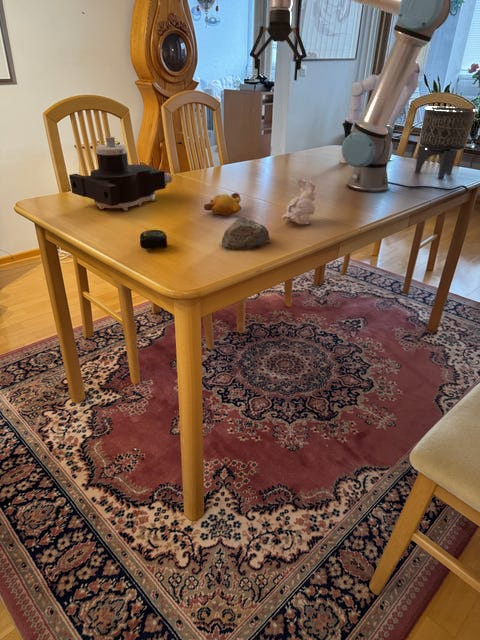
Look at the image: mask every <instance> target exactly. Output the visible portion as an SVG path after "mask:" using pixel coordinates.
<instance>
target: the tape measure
mask: <svg viewBox="0 0 480 640" xmlns="http://www.w3.org/2000/svg"><path fill="white" fill-rule="evenodd" d="M167 236H168V235H167V234H166V232H165V231H164V230H161V229H147V230H144V231H143V232H141V233H140V235H139V240H140V241H139V245H140V246H139V247H141V248H142V249H146V250H157V249H167V248H168V240H167V239H168V237H167Z"/></svg>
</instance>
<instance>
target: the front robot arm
mask: <svg viewBox="0 0 480 640" xmlns="http://www.w3.org/2000/svg"><path fill="white" fill-rule="evenodd" d="M350 1H351V2H355V3H358V4H361V5H364V6H366V7H370V8H372V9H376V10H380V11H382V12H386V13H388V14H392V15H395V16H398V18H397V20H396V22H395V25H394V27H393V29H392V31H393V34H394V40H393V42H392V45H391V47H390V50H389V52H388V55H387V57H386V60H385V62H384V64H383V67H382V69H381V72H380V73H379V74H380V76H379V79H378V81H377V83H376V86H375V88H374V89H372V90H373V91H372V93H371V96H370V98H369V100H368V102H367V105H366V108H365V110H364V113H363V114H362V116H361V117H360V119H358V120H356V122H355V124H353V126H352V128H351V132H350V135H348V136H347V138H345V139H344V140H343V142H342V145H341V156H342V155H343V158H344V160H345V161H346V162H347V163H346V164H347V165H349V166H351V167H353V171H351V174H350V176H349V179H348V180H347V181H348V182H347V187H348V188H349V189H351V190H354V191H358V192H363V193H364V192H365V193H382V192H386V191H388V189H389V185H393V186H397V187H402V188H405V189H434V190H441V191H454V190H457V189H461V188H463V189H465V191H467V190H469V188H468V186H466V185H458V186H455V187H440V186H439V187H438V186H432V185H406V184H405V185H404V184H401V183H397V182H393V181H389V178H388V173H387V172H388V171H387V166H388V161H389V160H388V156H389V151H390V145H391V142H392V140H393V136H394V134H393V133H394V129H393V128H392V127H391V126H388V125H387V123H388V121H389V118H390V116H391V114H392V112H393V110H394V107H395V105H396V103H397V101H398V99H399V96H400V94H401V92H402V90H403V88H404V85H405V83H406V81H407V79H408V77H409V74H410V72H411V70H412V68H413V66H414V63H415V62H417V59H418V57H419V54H420V52H421V50H422V49H423V47H425V46H427V45H429V44H430V42H431V41H432V38H433V36H434V34H435V32H436V30H438V29H439V28H441V27H442V26H443V25H444V24H445V23H446V21H447V20H448V18H449V17H450V13H451V9H452V0H350ZM269 8H270V10H269V13H268V26H264V25H261V26H259V32H258V35H257V38H256V40H255V42H254V43H253V46H252V48H251V51H250V53H249V56H250V57H251V58H253V59H254V70H257V75H256V76H257V77H256V80H257V81H259V80H260V73H261V71H260V70H261V65H260V64H261V58H259V57H260V56H261V54H262V53H263V52H264V51H265V49H266V48H267V47H268V46H269V45H270V43H272V42H276V43H277V42H281V43H283V42H285V41H286V43H287V45H288V46H289V47H290V49H291V51H292V52H293V54H294V56H295V57H296V58H297V59H295V62H294V63H295V64H294V75H293V80H294V81H296V82H297V80H298V71H300V70H301V68H302V60H303V59H305V58H307V57H308V54H307V51H306V49H305V46H304V43H303V40H302V37H301V34H300V33H301V32H300V27H299V26H296V27H292V25H291V24H292V11H291V9H292V8H293V0H269ZM266 33H268V35H269V37H268V38H267V40H265V42H264V44H263V45H262V46H261V47H260V48H259V50H258V51H257V52H256V50H257V49H258V46H259V43H260V42H261V38H262V37H263V35H265V34H266ZM291 33H293V35H295V38H296V42H297V44H298V48H299V50H300V52H301V54H300V52H299V50H298V49H297V48H296V46H295V44H294V43H293V41H292V40H291V38H290V35H291ZM255 52H256V53H255Z"/></svg>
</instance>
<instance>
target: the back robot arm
mask: <svg viewBox="0 0 480 640" xmlns="http://www.w3.org/2000/svg"><path fill="white" fill-rule="evenodd" d="M380 74H381V73H379V74H378V75H376V74H373V73H372V74H369V75H368V77H366V78H364V79H360V80H359V82H357V81H355V82H353V84H352V85H351V86H350V90H349V91H350V95H351V96H350V105H349V113H348V117H344V118H343V122H342V127H343V130H344V138H345V139H346V138H347V136H348V135H350V134H351V132H352V129H353V127H354V125H355V122H356V120H358V119H360V118H362V109H363V103H364V96H365V94H366V93H368V92H370V91H372V90H374V88H375V86H376V83H377V81H378V79H379V76H380ZM420 74H421V68H420V65H419V63H418V61H415V63H414V66H413V68H412V70H411V72H410V74H409V77H408V79H407V81H406V83H405V85H404V88H403V90H402V92H401V94H400V96H399V99H398V101H397V103H396V105H395V107H394V110H393V112H392V114H391V116H390V118H389V121H388V123H387V125H388V126H391V127H392V128H393V130H394V129H395V126H396V125H395V123H396V122H397V121H398V119H399V117H400V116H401V114H402V112H403V111H404V109H405V108H406V107H407V105H408V103H409V101H410V100H411V98H412V96H413V95H414V93H415V91H416V90H417V89H418V84H419V76H420ZM393 149H394V144H393V141H391V145H390V151H389V156H388V161H392V160H393V159H392V154H393V151H394V150H393Z"/></svg>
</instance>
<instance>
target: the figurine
mask: <svg viewBox="0 0 480 640" xmlns="http://www.w3.org/2000/svg"><path fill="white" fill-rule="evenodd" d="M296 184H297V186H298V188H299V189H300V196H296V197H294V198H292V199H291V200H290V202H289V204H288V205H287V207H286V212H285V213H284V214H283V215H282V217H281V220H282V221H284V220H285V221H286V222H292V223H295V224H296V223H297V224H298V225H309V220H310V217H311V215H312V216H313V215H314V214H315V210H316V207H315V203H314V201H315V200H316V191H315V189H316V186H315V183H314V182H313V181H311V179H308V184H309V187H306V180H304V179H303V178H302V177H299V178H298V179H297V183H296Z"/></svg>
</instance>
